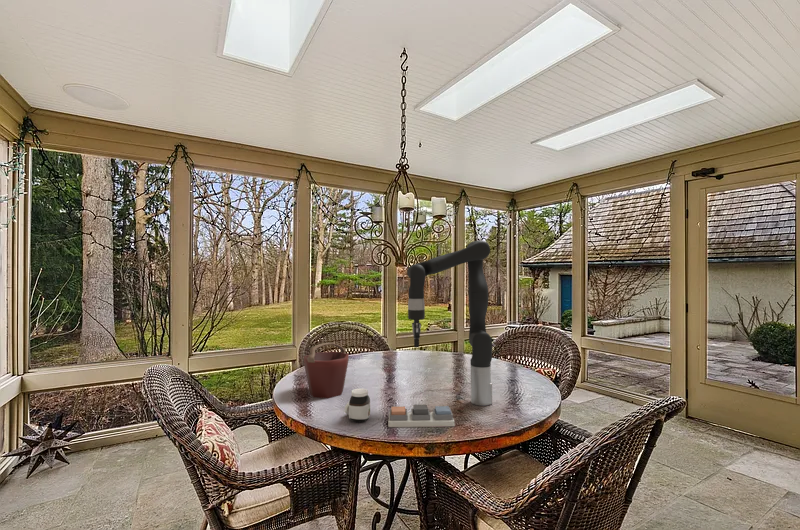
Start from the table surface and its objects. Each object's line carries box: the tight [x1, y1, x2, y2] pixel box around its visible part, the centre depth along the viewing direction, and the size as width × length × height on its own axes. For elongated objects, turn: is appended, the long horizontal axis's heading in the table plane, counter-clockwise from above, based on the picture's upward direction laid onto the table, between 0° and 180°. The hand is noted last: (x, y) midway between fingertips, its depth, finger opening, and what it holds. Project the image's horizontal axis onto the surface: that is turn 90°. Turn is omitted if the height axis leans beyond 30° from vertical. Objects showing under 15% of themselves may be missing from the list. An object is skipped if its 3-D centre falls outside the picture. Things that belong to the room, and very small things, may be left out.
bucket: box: [303, 342, 350, 399], centre depth 194 cm, size 24×22×25 cm
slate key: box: [434, 405, 452, 415], centre depth 156 cm, size 6×6×2 cm
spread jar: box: [343, 388, 371, 423], centre depth 161 cm, size 12×11×12 cm
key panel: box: [387, 408, 456, 428], centre depth 156 cm, size 26×10×4 cm, turn 91°
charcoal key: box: [412, 404, 429, 415], centre depth 156 cm, size 6×6×2 cm
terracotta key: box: [391, 406, 406, 415], centre depth 156 cm, size 6×6×2 cm
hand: (416, 346), depth 173 cm, fingers closed
